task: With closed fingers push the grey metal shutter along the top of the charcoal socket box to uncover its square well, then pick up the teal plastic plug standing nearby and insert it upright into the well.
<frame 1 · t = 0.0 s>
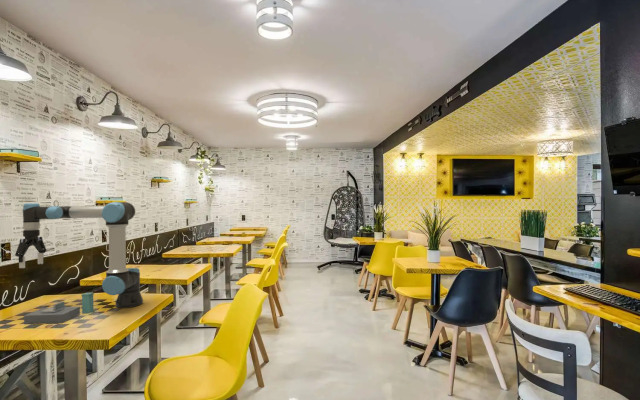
hand: (31, 265, 201), 28 cm above the table, fingers open, 13 cm apart
plug: (87, 312, 202), on the table
shutter: (53, 306, 190), point 7 cm above the table, slide at 0.0 cm
socket: (53, 319, 190), on the table
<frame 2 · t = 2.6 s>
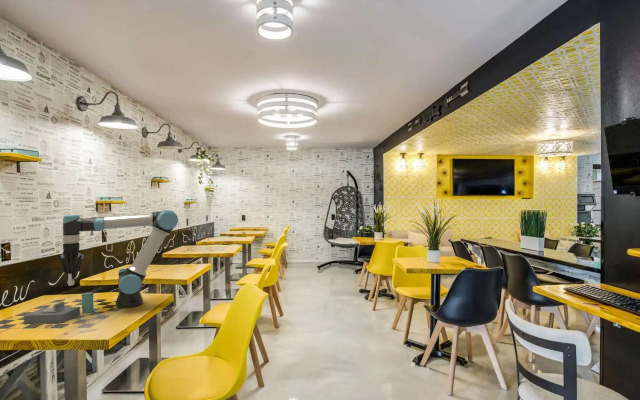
hand: (71, 285, 191), 19 cm above the table, fingers closed
nothing on the table moved.
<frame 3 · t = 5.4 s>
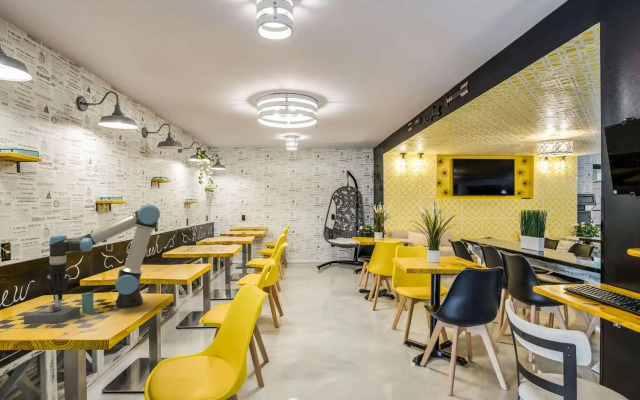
hand: (58, 306, 190), 7 cm above the table, fingers closed
shutter: (49, 307, 190), point 7 cm above the table, slide at 1.7 cm, touching gripper
everything else where it was.
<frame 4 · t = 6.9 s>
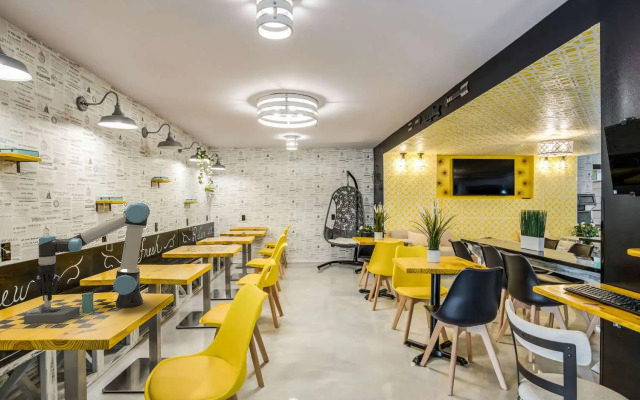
hand: (47, 306, 190), 7 cm above the table, fingers closed
shutter: (39, 307, 190), point 7 cm above the table, slide at 7.4 cm, touching gripper
everything else where it was.
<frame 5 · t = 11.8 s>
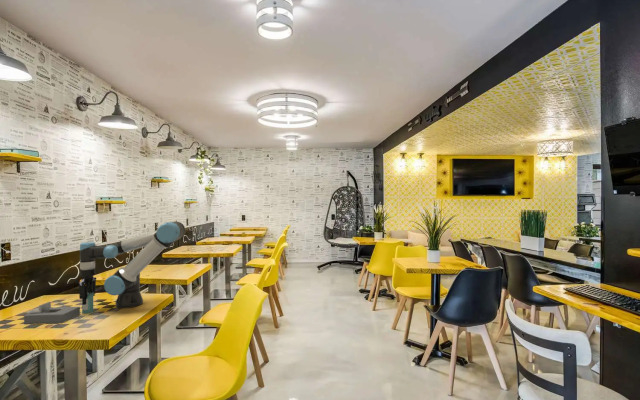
hand: (87, 308, 202), 2 cm above the table, fingers closed on plug, 4 cm apart
plug: (87, 312, 202), on the table, touching gripper
shutter: (39, 307, 190), point 7 cm above the table, slide at 7.4 cm
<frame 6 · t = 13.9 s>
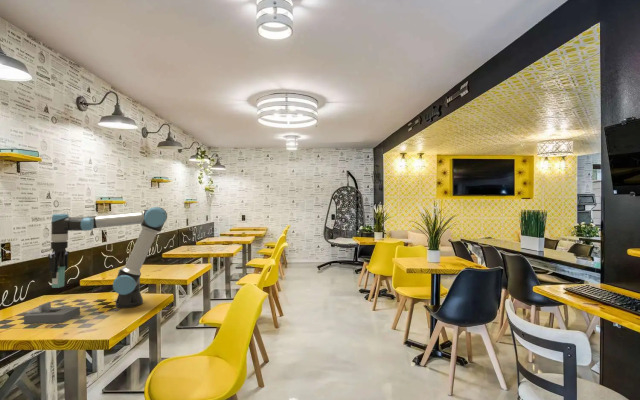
hand: (58, 283, 193), 19 cm above the table, fingers closed on plug, 4 cm apart
plug: (58, 286, 193), point 17 cm above the table, touching gripper
everything else where it was.
when the fingers open (6 cm above the table, at t = 16.4 s): plug drops 2 cm, resting on socket.
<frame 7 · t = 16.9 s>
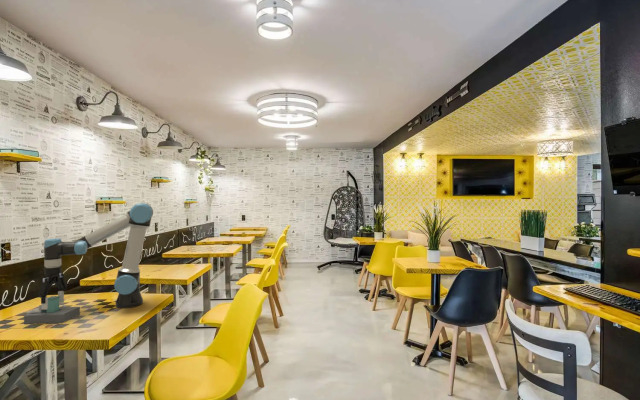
hand: (53, 305, 190), 7 cm above the table, fingers open, 12 cm apart
plug: (53, 317, 190), point 1 cm above the table, touching socket
everything else where it was.
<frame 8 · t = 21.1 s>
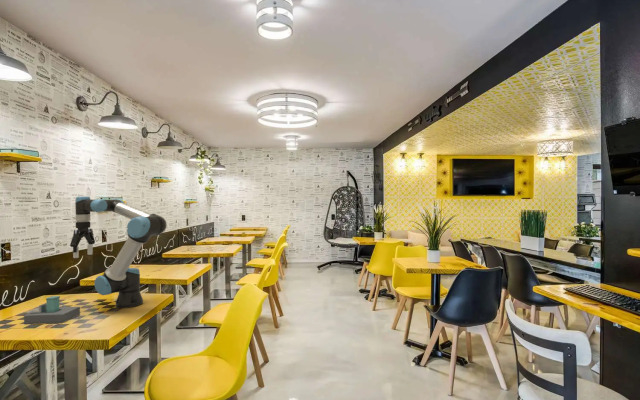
hand: (83, 256, 211), 32 cm above the table, fingers open, 13 cm apart
nothing on the table moved.
at the end: plug 0.0 cm off-centre on the socket, point 1.1 cm above the socket's base; plug tilted 0°; shutter slide at 7.4 cm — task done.
